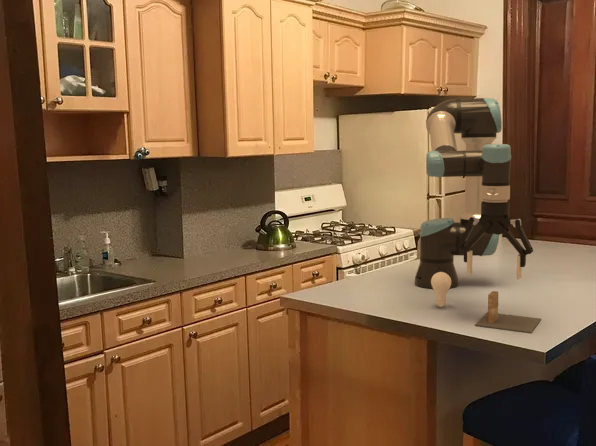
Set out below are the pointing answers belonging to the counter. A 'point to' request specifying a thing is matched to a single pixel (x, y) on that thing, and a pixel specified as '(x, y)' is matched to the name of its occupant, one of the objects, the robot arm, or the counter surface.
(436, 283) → the lightbulb
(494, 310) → the wooden block
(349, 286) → the counter surface
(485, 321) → the mat
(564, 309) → the counter surface
